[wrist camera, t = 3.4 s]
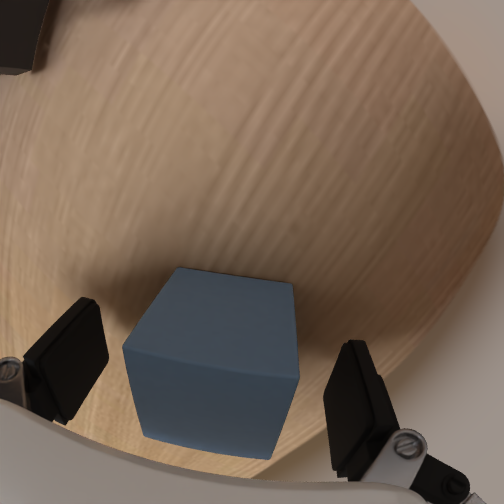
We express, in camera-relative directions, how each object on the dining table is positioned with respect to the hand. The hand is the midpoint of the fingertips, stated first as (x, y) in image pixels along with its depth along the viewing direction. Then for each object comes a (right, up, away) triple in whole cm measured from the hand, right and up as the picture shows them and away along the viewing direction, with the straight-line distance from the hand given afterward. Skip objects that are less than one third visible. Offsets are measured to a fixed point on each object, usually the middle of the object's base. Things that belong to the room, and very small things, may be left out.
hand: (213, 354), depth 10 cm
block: (0, +1, +2) cm, 2 cm away
